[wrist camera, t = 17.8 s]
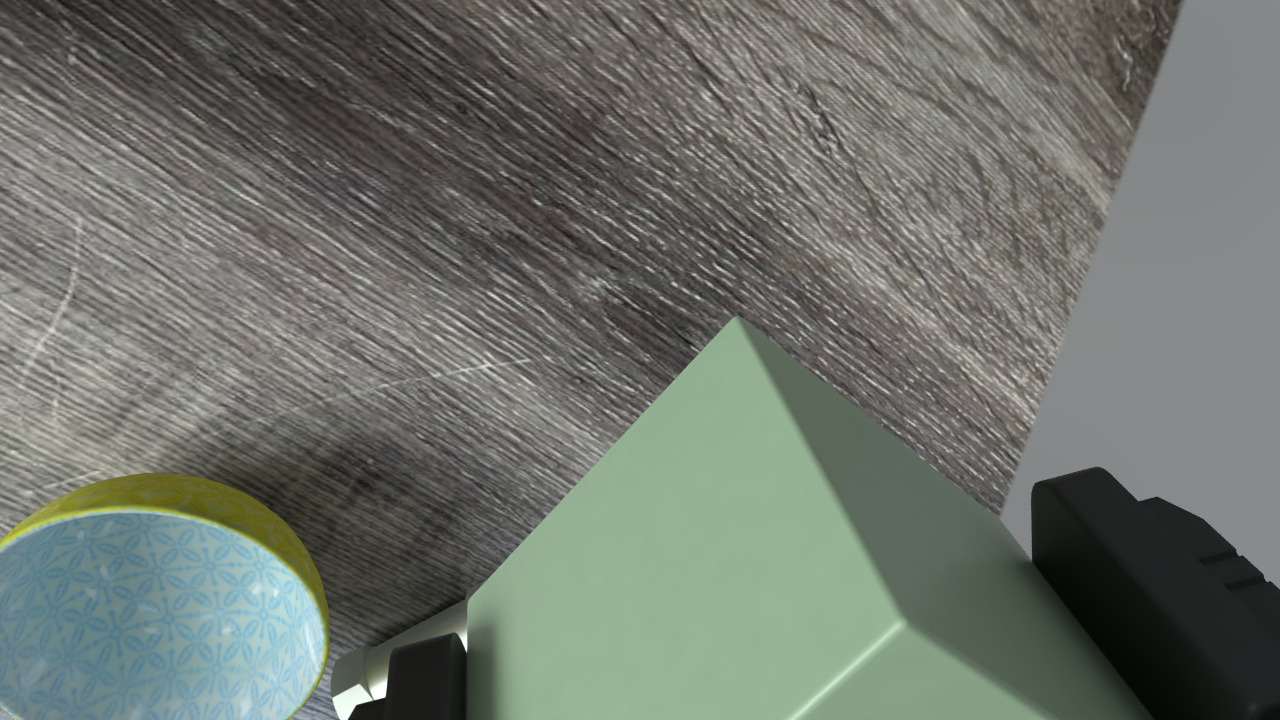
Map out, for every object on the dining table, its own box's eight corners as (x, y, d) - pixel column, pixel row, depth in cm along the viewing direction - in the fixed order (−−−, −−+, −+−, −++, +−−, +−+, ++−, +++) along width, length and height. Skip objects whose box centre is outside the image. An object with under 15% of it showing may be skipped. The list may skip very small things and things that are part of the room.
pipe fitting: (576, 647, 44) (496, 557, 40) (588, 718, 41) (501, 627, 37) (427, 725, 45) (334, 643, 41) (426, 801, 42) (326, 720, 38)
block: (735, 310, 11) (907, 618, 7) (1002, 520, 13) (1270, 863, 9) (464, 599, 12) (457, 1017, 8) (744, 749, 14) (862, 1148, 10)
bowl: (329, 656, 42) (306, 777, 36) (32, 627, 39) (-41, 753, 34) (369, 433, 37) (349, 533, 32) (34, 382, 34) (-50, 482, 29)
